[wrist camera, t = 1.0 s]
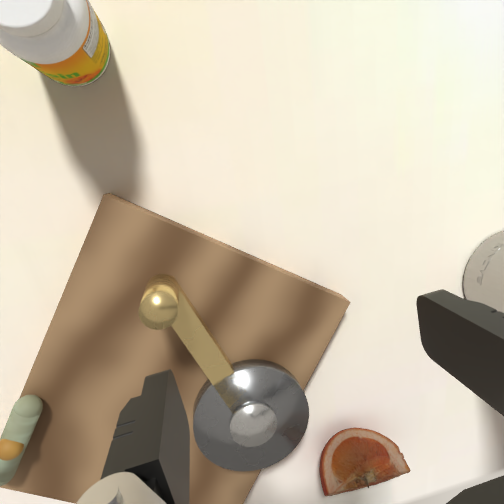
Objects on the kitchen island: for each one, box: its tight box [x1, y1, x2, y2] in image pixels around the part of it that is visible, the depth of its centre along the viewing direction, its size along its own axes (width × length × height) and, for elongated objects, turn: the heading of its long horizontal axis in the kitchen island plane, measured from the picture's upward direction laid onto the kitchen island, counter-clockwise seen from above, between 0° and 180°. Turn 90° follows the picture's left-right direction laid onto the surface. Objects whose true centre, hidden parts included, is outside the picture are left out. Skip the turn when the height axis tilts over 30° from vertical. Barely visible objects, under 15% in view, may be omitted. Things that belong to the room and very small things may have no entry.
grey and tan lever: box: [139, 274, 309, 471], centre depth 28 cm, size 20×10×6 cm, turn 29°
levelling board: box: [0, 193, 350, 504], centre depth 31 cm, size 22×26×5 cm
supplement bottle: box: [0, 0, 110, 86], centre depth 21 cm, size 5×5×10 cm
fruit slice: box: [320, 428, 410, 496], centre depth 36 cm, size 8×7×5 cm
